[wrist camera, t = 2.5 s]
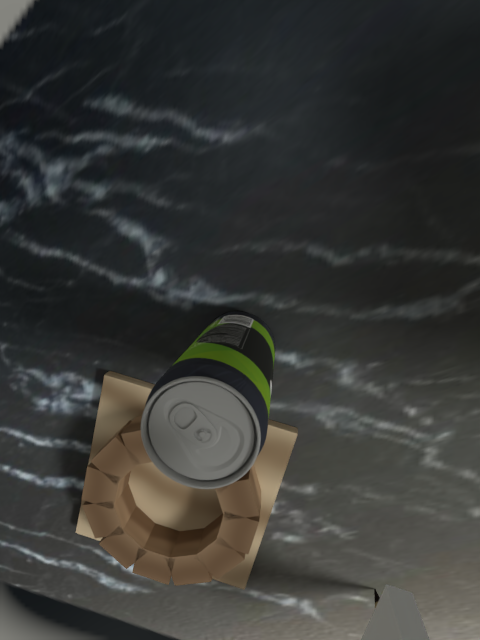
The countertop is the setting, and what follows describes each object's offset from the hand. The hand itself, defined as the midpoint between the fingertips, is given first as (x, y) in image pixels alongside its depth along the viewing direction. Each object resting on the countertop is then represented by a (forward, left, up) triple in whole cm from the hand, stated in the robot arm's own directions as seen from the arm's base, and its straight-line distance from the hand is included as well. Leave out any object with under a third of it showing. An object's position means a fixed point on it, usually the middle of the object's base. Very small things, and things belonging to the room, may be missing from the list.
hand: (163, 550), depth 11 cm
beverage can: (0, 0, -21) cm, 21 cm away
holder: (+15, -2, -21) cm, 26 cm away
